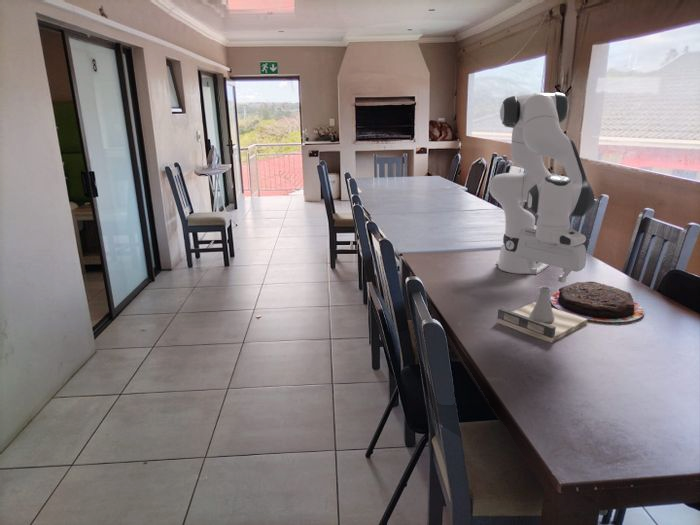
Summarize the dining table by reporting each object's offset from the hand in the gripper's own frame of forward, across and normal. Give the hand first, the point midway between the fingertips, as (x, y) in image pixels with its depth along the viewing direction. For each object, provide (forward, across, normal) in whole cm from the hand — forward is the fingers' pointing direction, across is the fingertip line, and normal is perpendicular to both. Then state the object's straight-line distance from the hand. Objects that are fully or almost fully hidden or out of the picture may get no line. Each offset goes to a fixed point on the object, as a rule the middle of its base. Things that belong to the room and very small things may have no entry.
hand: (546, 277), depth 143 cm
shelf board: (+15, 0, -1) cm, 15 cm away
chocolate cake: (+16, +4, +24) cm, 29 cm away
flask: (+13, 0, -1) cm, 13 cm away
